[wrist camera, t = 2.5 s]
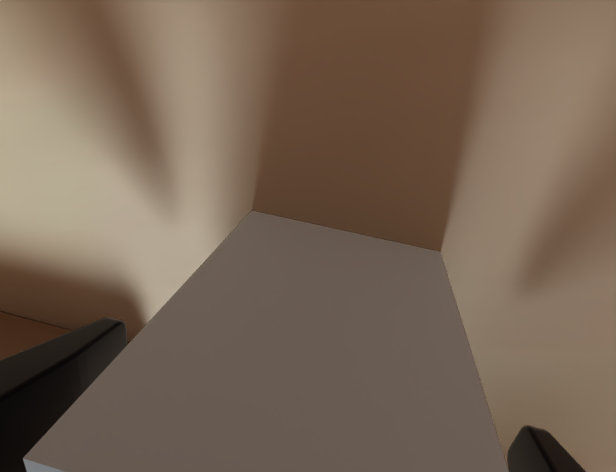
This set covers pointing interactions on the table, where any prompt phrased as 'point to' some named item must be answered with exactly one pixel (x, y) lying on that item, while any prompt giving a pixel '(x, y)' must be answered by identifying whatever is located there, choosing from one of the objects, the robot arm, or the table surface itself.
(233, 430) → the grey block
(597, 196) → the table surface
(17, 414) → the robot arm
